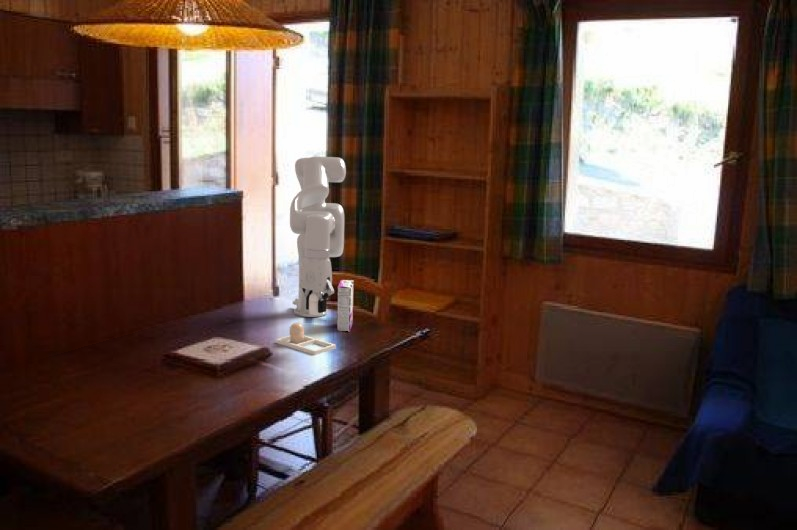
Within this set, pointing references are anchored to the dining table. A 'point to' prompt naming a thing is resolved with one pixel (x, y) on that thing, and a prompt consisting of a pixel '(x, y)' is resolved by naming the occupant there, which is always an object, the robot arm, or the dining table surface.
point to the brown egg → (296, 333)
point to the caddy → (308, 342)
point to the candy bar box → (345, 305)
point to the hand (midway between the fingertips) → (316, 309)
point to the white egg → (314, 303)
